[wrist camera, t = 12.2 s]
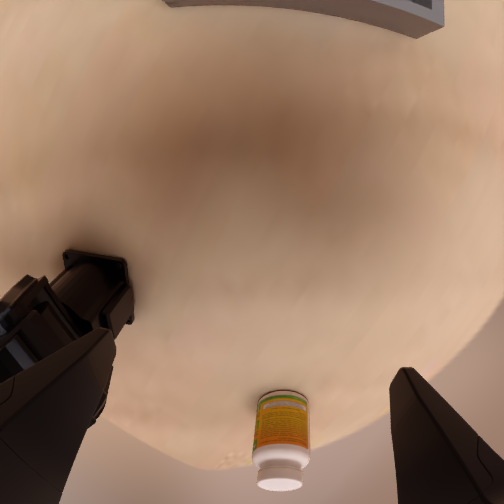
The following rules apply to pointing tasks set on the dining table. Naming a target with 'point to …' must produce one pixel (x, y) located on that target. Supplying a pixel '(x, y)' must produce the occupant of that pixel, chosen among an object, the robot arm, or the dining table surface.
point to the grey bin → (357, 11)
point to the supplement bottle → (281, 440)
